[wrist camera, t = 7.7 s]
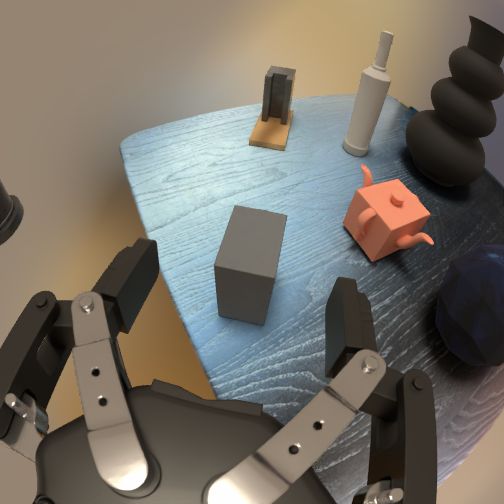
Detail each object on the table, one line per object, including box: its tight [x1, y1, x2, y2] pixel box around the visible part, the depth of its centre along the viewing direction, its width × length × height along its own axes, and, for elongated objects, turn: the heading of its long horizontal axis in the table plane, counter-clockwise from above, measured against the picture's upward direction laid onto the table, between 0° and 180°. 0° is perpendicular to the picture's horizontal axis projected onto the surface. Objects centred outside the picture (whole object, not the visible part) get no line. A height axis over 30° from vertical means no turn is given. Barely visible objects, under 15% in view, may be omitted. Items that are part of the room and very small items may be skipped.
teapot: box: [343, 164, 434, 262], centre depth 37 cm, size 12×15×8 cm
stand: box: [249, 66, 296, 151], centre depth 51 cm, size 6×15×11 cm, turn 168°
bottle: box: [343, 31, 394, 157], centre depth 43 cm, size 5×5×25 cm
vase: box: [406, 16, 504, 187], centre depth 38 cm, size 18×18×35 cm
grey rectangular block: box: [214, 205, 287, 325], centre depth 30 cm, size 5×9×10 cm, turn 168°
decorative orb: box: [435, 245, 504, 366], centre depth 26 cm, size 14×15×15 cm
